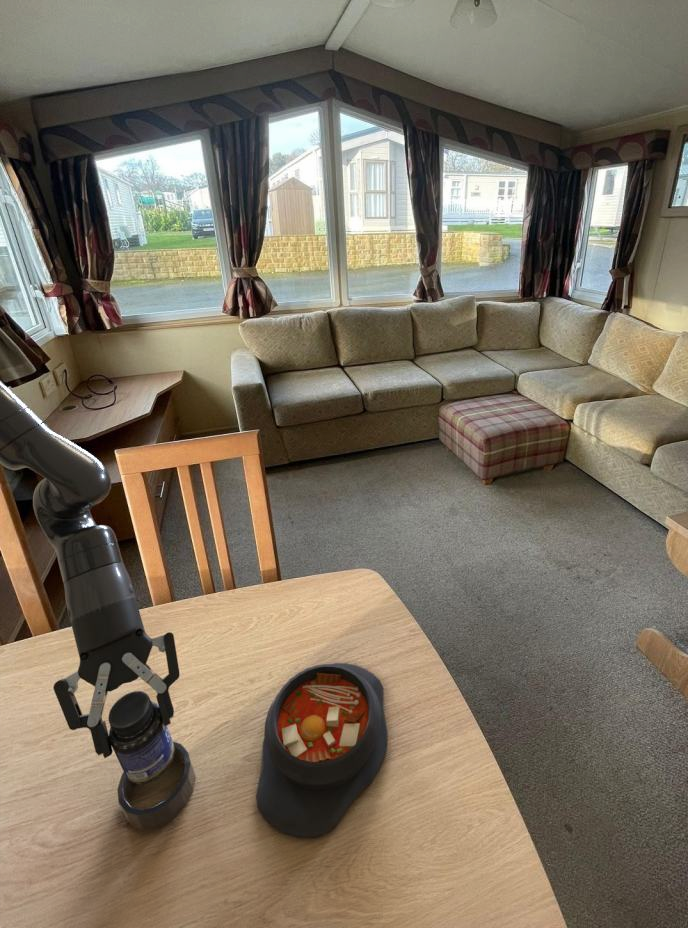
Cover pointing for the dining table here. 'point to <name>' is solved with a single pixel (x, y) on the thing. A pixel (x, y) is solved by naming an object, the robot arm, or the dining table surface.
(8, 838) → the dining table surface
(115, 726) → the pill bottle
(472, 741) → the dining table surface
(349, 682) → the casserole
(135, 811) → the ring
